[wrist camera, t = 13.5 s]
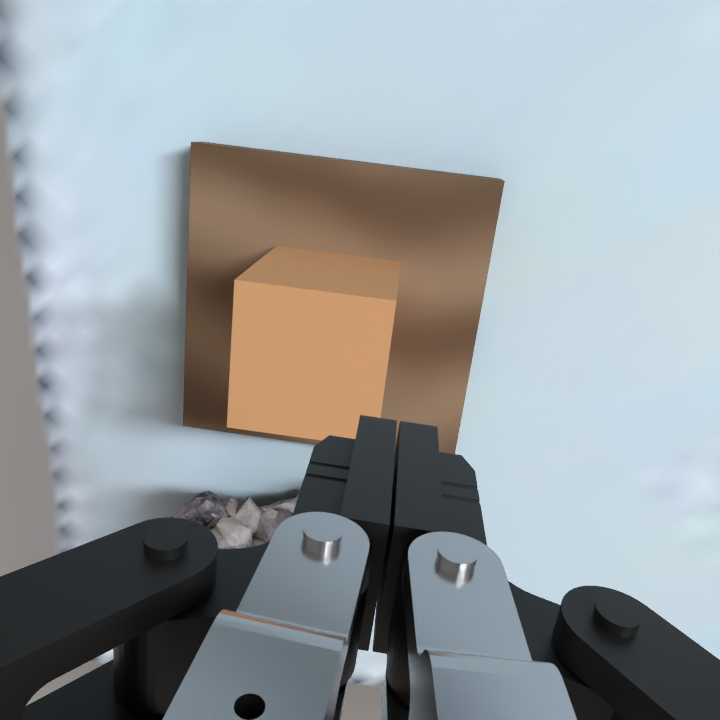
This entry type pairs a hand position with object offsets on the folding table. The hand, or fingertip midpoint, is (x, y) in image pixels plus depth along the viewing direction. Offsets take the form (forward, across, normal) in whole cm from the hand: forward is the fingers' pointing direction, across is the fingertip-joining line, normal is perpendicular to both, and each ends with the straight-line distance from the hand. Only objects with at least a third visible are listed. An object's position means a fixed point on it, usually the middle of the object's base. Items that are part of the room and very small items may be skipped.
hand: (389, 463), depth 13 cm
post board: (+20, +3, +3) cm, 21 cm away
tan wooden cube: (+19, +3, +3) cm, 19 cm away
